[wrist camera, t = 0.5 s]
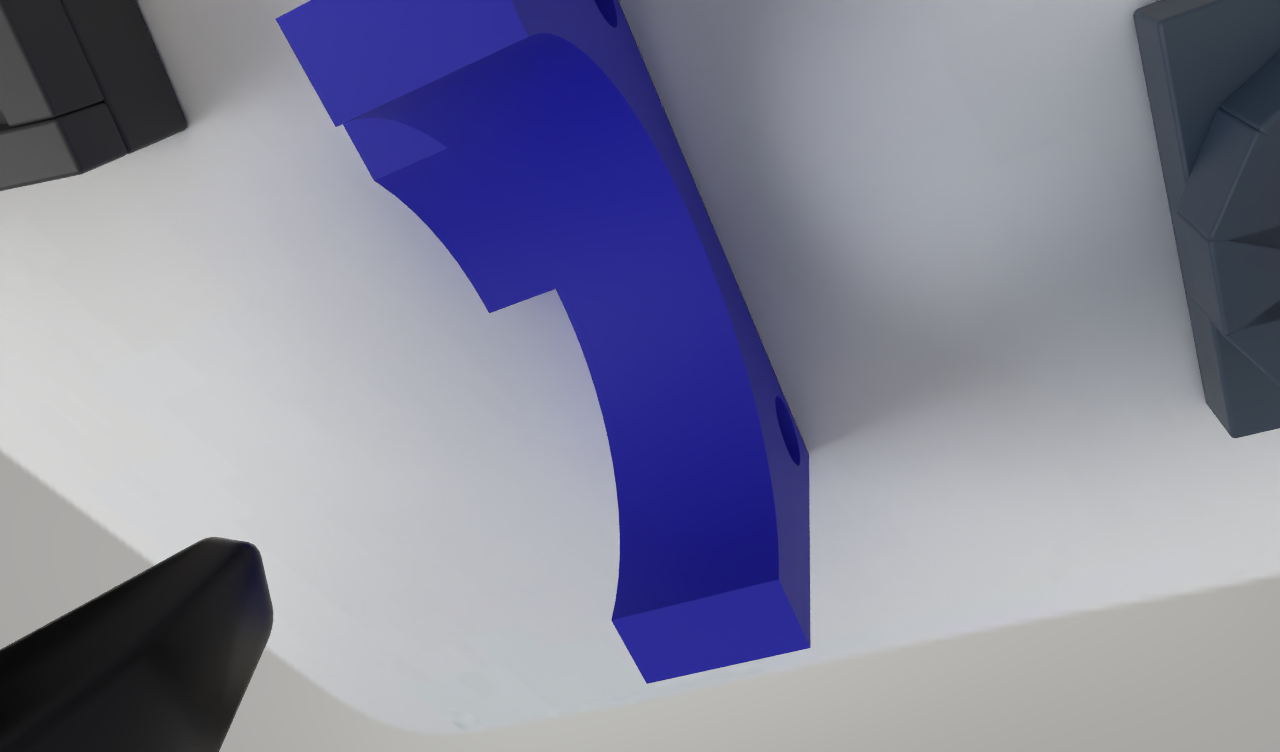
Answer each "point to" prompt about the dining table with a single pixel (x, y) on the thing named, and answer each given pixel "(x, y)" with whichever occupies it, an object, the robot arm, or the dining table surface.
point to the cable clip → (595, 287)
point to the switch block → (1223, 189)
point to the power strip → (77, 88)
